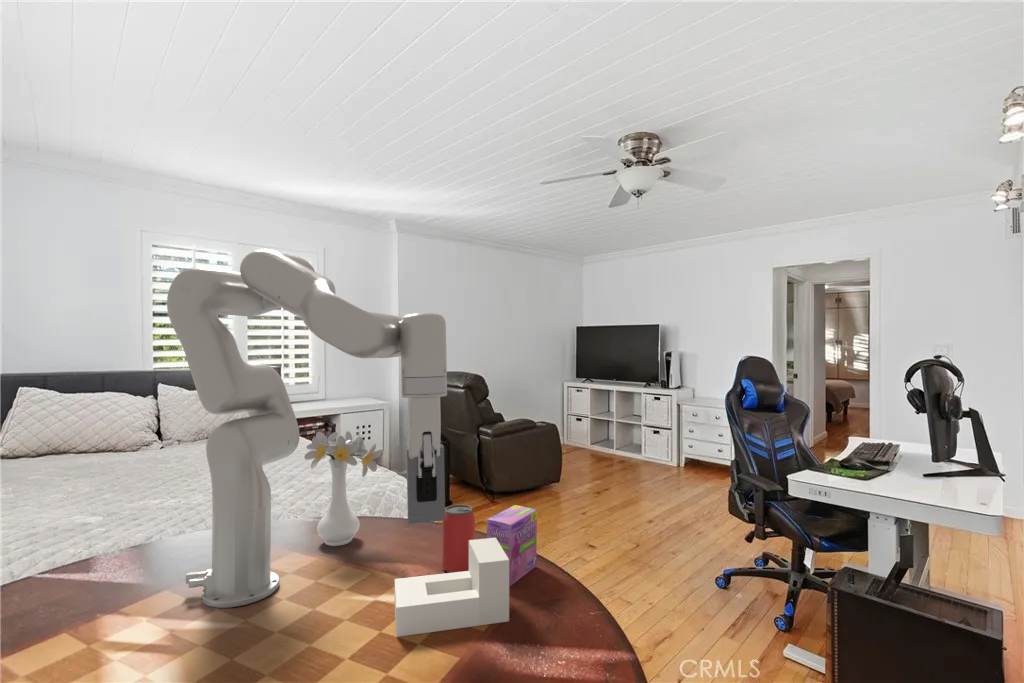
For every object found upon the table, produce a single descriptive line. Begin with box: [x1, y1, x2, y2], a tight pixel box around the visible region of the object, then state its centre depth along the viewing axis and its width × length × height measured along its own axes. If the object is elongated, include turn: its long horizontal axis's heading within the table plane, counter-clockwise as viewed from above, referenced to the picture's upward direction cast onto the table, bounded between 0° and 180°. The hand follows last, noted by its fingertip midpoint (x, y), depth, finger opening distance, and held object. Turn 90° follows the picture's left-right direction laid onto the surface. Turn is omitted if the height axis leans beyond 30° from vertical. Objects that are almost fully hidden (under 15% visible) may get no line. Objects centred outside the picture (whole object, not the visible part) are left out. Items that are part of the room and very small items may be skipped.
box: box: [486, 504, 538, 587], centre depth 100 cm, size 10×6×12 cm, turn 148°
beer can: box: [442, 504, 476, 573], centre depth 103 cm, size 7×7×12 cm
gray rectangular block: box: [406, 443, 446, 525], centre depth 84 cm, size 6×3×12 cm, turn 104°
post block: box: [394, 537, 510, 638], centre depth 85 cm, size 18×10×10 cm, turn 105°
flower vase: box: [304, 430, 384, 547], centre depth 117 cm, size 13×18×25 cm
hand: (426, 496), depth 84 cm, fingers closed on gray rectangular block, 3 cm apart
